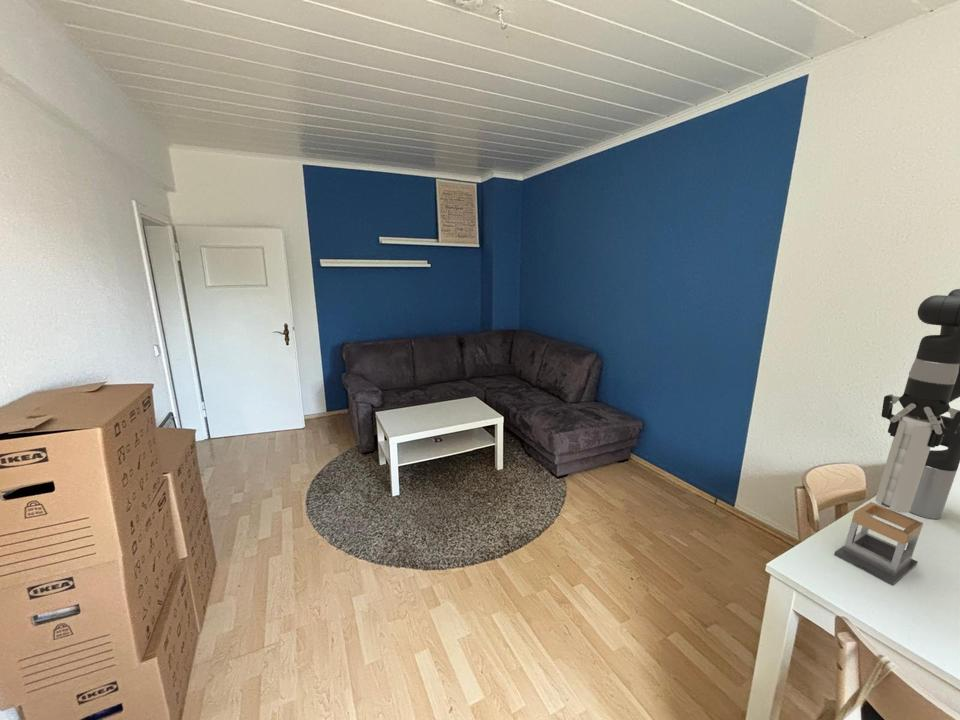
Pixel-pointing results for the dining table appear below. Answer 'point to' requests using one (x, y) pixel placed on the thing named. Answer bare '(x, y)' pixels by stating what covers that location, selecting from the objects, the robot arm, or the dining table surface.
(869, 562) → the collar stand
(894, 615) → the dining table surface
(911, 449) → the grey cylinder
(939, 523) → the dining table surface
